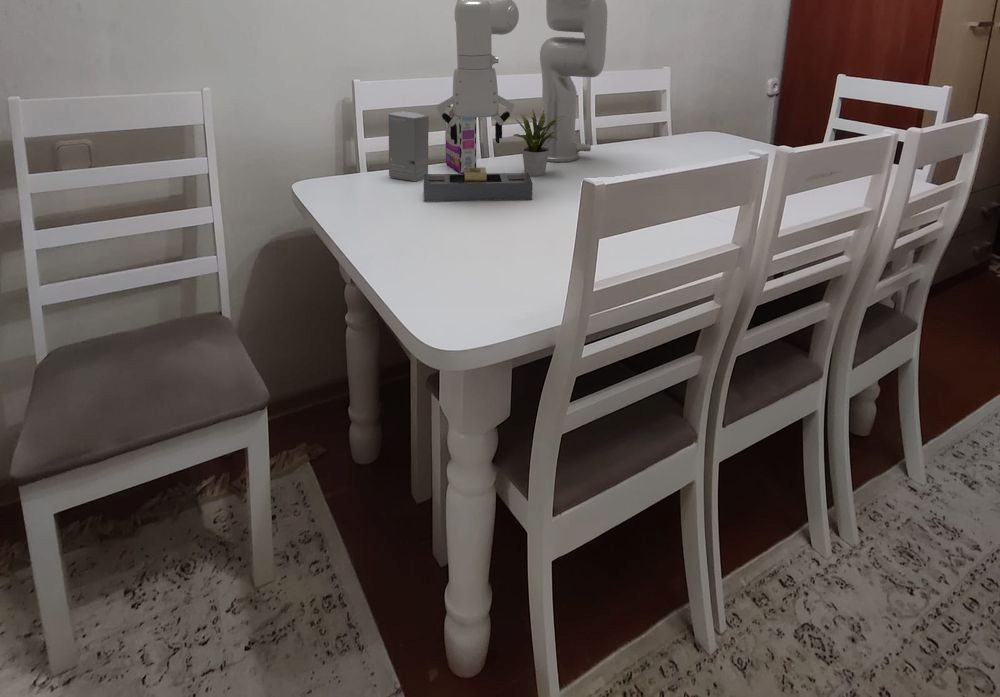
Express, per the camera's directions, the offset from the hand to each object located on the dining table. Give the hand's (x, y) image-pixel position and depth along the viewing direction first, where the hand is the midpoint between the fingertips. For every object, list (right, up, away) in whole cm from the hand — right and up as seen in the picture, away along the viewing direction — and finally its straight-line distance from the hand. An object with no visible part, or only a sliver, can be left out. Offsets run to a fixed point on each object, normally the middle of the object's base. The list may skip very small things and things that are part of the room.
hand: (476, 142), depth 163 cm
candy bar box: (-5, +1, +28) cm, 29 cm away
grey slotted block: (+1, -11, +5) cm, 12 cm away
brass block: (0, -11, +5) cm, 12 cm away
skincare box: (-18, -4, +20) cm, 27 cm away
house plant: (+15, -2, +23) cm, 27 cm away
